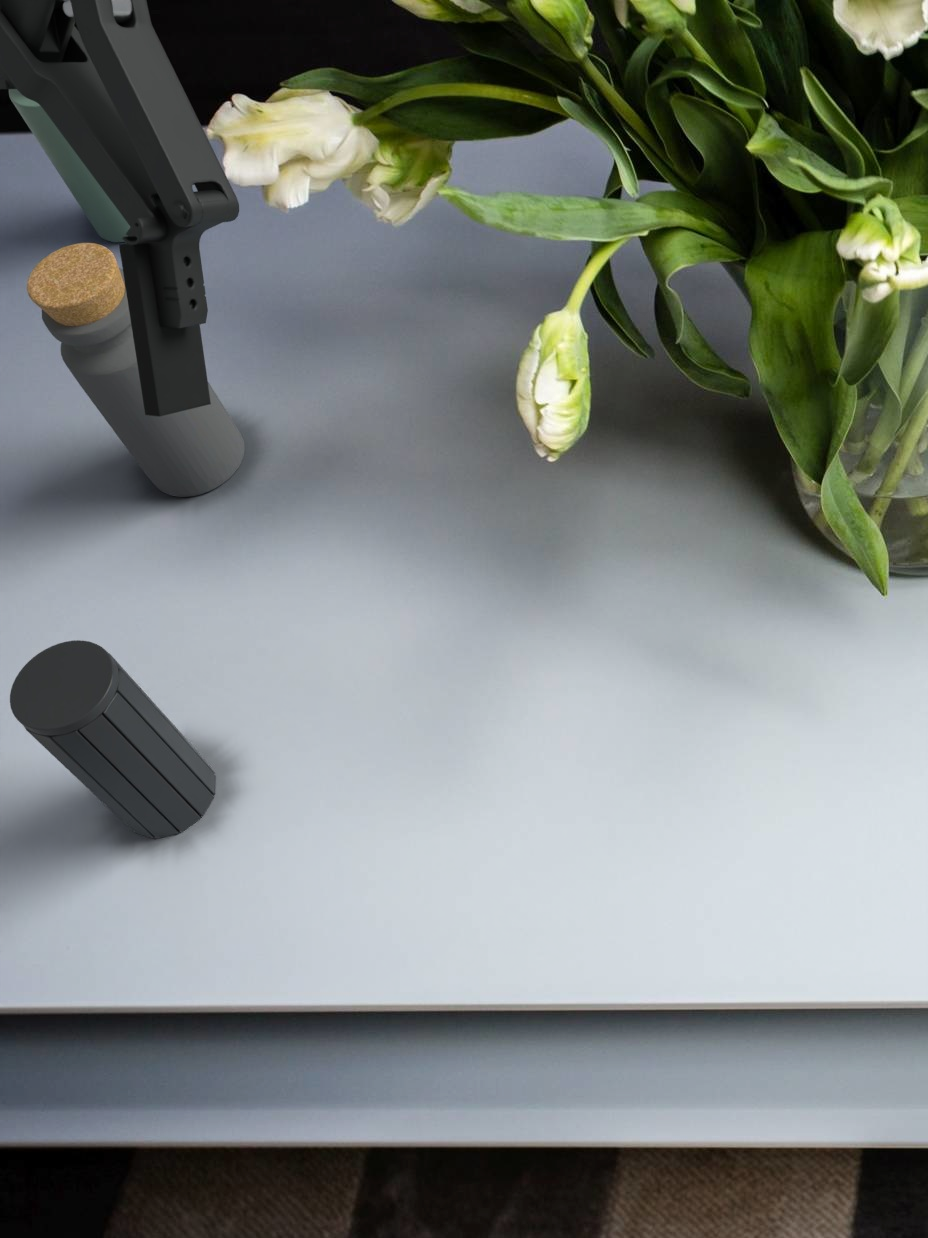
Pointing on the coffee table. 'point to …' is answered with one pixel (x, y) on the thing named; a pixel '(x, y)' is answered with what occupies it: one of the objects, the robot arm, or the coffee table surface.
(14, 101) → the spray can
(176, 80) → the robot arm
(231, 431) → the bottle
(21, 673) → the dark grey grooved cylinder
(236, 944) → the coffee table surface
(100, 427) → the coffee table surface
